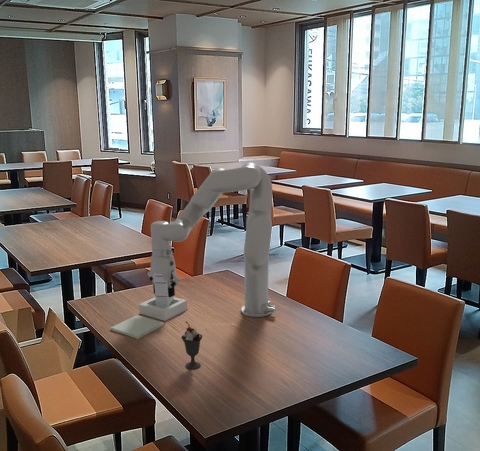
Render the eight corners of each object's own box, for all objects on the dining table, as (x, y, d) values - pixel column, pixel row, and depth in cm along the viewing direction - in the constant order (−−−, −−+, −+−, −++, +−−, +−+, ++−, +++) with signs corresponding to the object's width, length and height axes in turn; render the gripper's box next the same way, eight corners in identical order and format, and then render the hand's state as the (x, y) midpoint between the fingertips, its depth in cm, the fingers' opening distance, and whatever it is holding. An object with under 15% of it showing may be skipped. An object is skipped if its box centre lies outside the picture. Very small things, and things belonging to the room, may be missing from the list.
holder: (187, 309, 213) (186, 300, 212) (165, 320, 202) (164, 311, 201) (162, 302, 220) (161, 293, 219) (139, 313, 209) (139, 304, 208)
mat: (164, 325, 198) (163, 322, 198) (138, 338, 187) (137, 336, 187) (137, 317, 206) (137, 314, 206) (110, 330, 194) (110, 327, 194)
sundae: (182, 361, 170) (181, 318, 167) (203, 360, 171) (201, 317, 167) (182, 371, 164) (180, 327, 160) (203, 370, 164) (202, 326, 161)
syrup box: (169, 308, 208) (167, 274, 204) (155, 307, 209) (153, 273, 205) (174, 303, 213) (172, 269, 210) (160, 302, 214) (158, 268, 211)
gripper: (184, 253, 204) (186, 295, 208) (151, 247, 213) (154, 288, 218) (172, 257, 198) (174, 301, 202) (139, 251, 207) (141, 293, 211)
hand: (164, 294), depth 210 cm, fingers closed on syrup box, 7 cm apart
